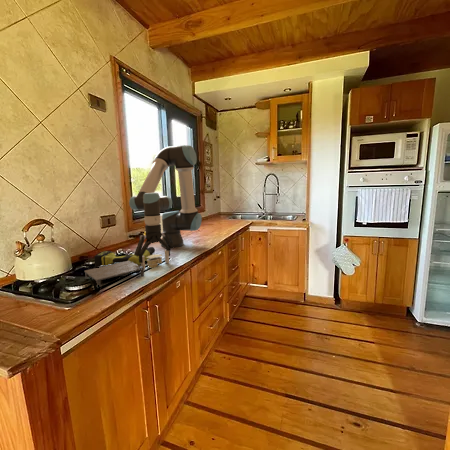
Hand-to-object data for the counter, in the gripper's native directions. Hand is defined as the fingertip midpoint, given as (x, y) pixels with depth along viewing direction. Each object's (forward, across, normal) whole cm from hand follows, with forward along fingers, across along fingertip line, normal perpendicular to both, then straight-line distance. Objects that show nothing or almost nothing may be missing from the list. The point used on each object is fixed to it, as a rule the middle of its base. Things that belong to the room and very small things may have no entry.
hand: (155, 265), depth 127 cm
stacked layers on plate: (+1, 0, 0) cm, 1 cm away
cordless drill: (+1, -6, +19) cm, 20 cm away
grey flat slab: (0, -21, -2) cm, 21 cm away
